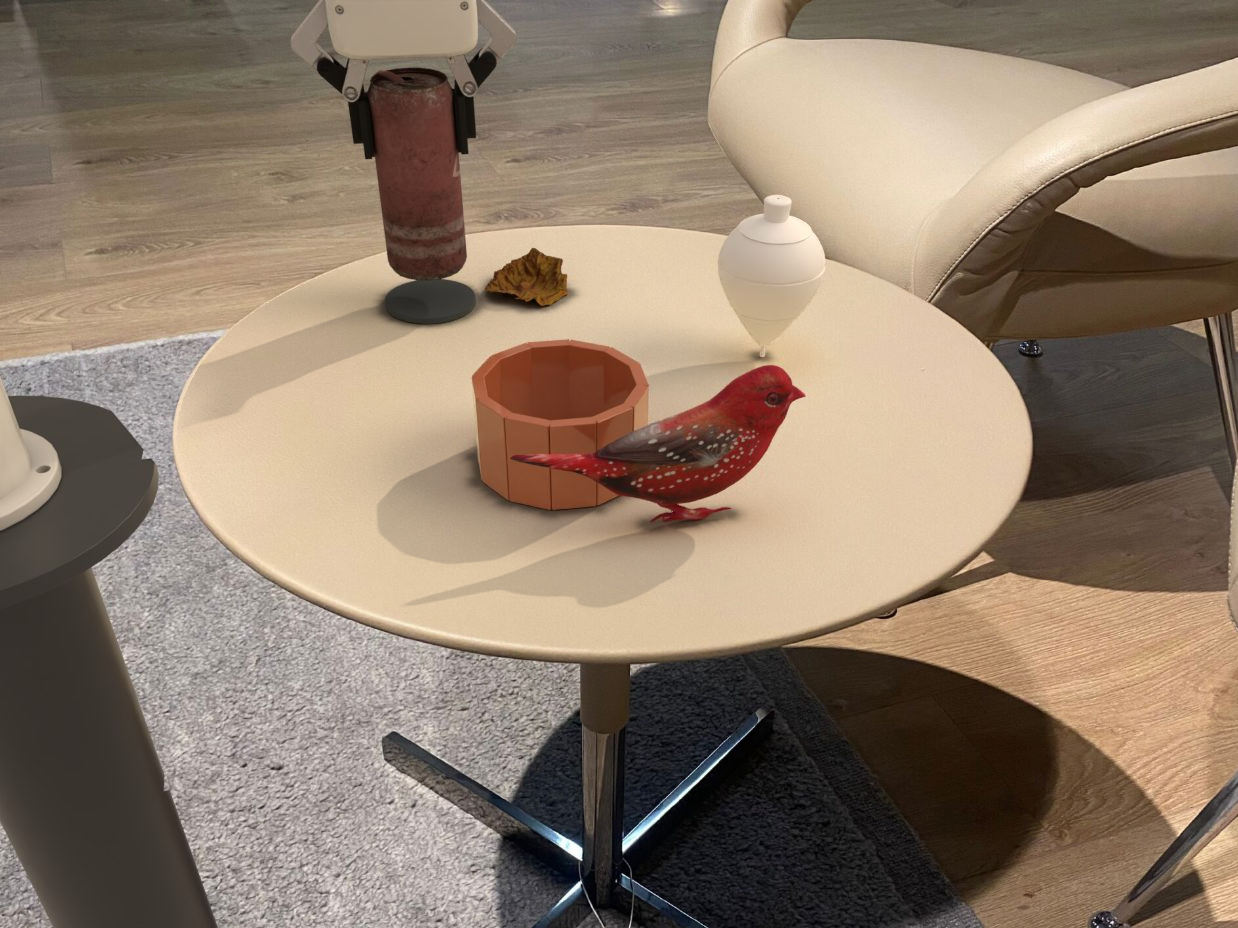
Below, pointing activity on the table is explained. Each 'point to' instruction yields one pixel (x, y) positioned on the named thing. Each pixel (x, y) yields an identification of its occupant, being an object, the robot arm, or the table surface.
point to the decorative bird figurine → (690, 446)
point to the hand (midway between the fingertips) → (415, 148)
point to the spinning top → (771, 270)
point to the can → (418, 172)
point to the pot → (553, 416)
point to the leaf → (531, 278)
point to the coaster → (430, 301)
